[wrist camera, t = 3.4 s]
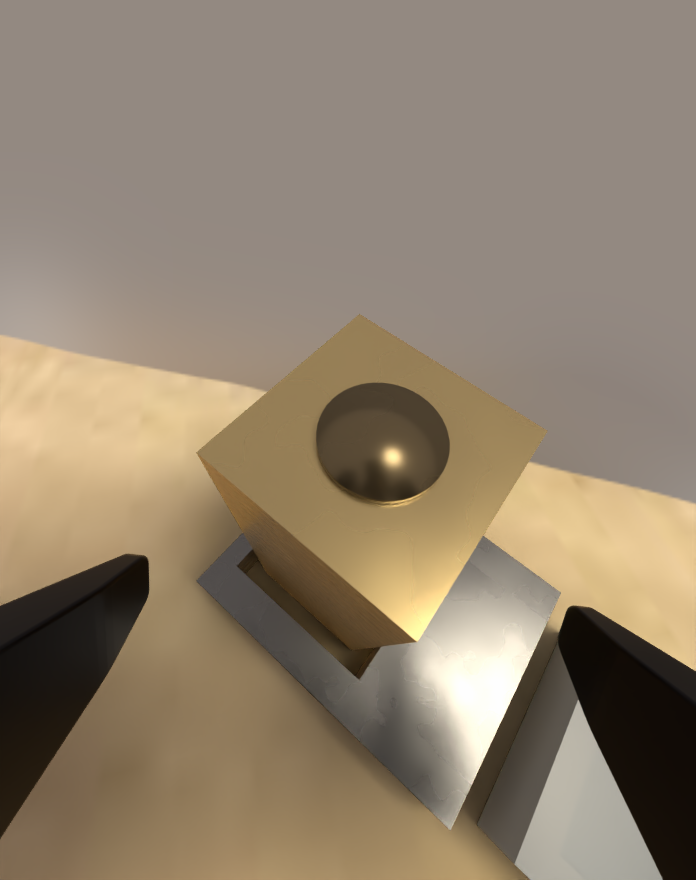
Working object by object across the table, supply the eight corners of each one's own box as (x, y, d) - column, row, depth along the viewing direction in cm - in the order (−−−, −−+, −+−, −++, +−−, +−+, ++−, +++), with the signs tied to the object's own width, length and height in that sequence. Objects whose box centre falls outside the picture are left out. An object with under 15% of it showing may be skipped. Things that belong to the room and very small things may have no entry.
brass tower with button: (351, 650, 16) (420, 641, 6) (266, 572, 18) (193, 447, 7) (415, 557, 18) (552, 426, 8) (335, 494, 20) (360, 307, 9)
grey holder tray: (537, 598, 18) (560, 592, 16) (433, 808, 14) (450, 830, 12) (338, 450, 21) (341, 431, 19) (208, 588, 17) (196, 581, 15)
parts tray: (700, 1039, 12) (809, 1148, 9) (476, 824, 14) (514, 864, 11) (746, 773, 15) (836, 797, 13) (561, 632, 17) (605, 628, 15)
